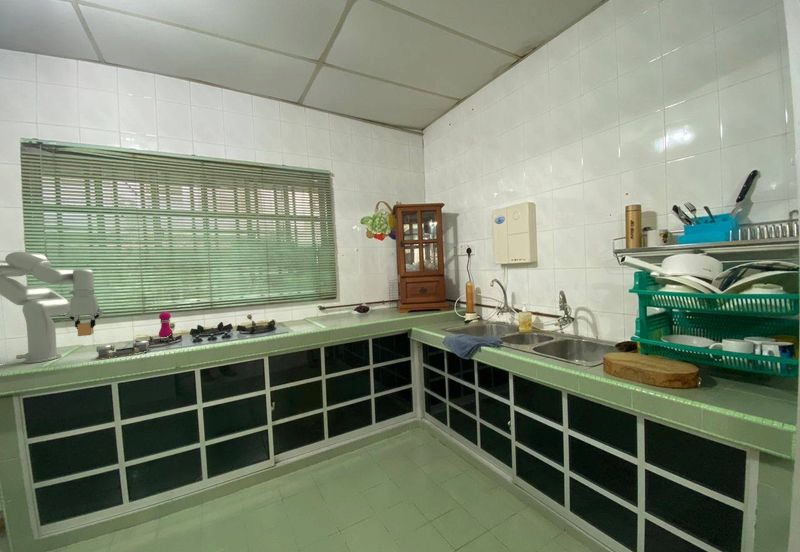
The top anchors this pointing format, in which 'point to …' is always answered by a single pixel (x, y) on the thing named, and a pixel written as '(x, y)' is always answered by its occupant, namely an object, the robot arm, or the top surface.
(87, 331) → the block
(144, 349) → the shaft bench
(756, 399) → the top surface
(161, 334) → the pepper mill
